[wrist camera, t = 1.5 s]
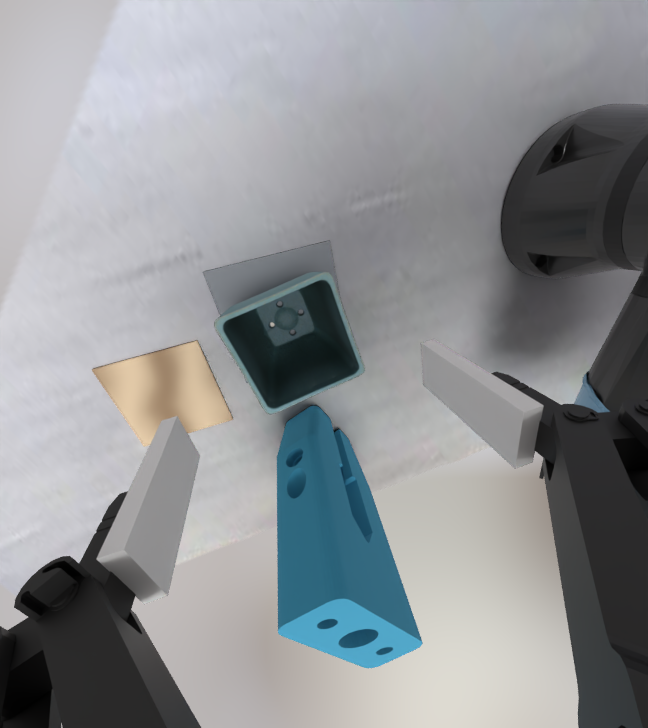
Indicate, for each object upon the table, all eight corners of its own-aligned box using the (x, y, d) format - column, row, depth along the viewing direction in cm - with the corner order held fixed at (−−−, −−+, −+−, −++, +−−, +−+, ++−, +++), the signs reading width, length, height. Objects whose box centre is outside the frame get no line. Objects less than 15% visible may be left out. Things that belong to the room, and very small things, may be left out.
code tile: (329, 240, 27) (329, 240, 27) (349, 351, 33) (350, 352, 32) (203, 271, 26) (202, 272, 26) (246, 381, 31) (246, 382, 31)
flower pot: (223, 294, 27) (209, 322, 19) (308, 257, 27) (330, 269, 19) (264, 369, 31) (268, 417, 23) (338, 336, 31) (367, 373, 23)
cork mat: (197, 340, 28) (196, 341, 28) (232, 418, 33) (232, 419, 33) (93, 368, 27) (91, 369, 27) (144, 444, 32) (144, 446, 32)
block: (273, 416, 34) (270, 631, 17) (306, 393, 33) (341, 595, 16) (328, 468, 40) (370, 670, 22) (358, 449, 39) (426, 644, 21)
